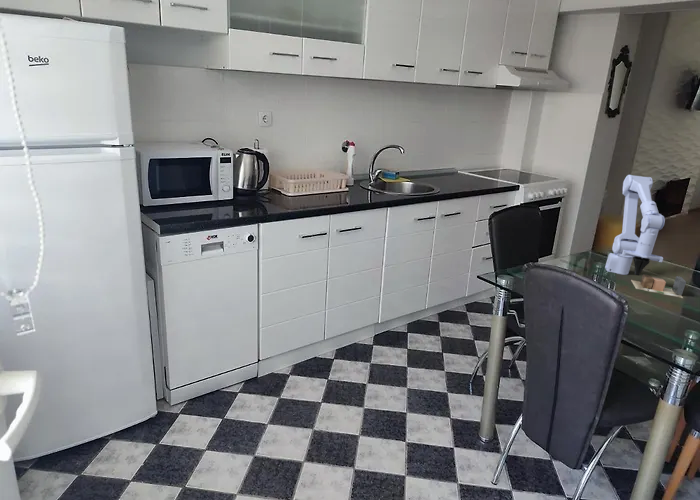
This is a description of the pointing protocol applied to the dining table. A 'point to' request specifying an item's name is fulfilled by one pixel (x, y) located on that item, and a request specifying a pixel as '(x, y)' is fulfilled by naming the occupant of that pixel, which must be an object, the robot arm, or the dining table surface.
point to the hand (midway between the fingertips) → (636, 274)
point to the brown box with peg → (647, 281)
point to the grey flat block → (679, 285)
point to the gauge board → (665, 291)
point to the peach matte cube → (658, 284)
